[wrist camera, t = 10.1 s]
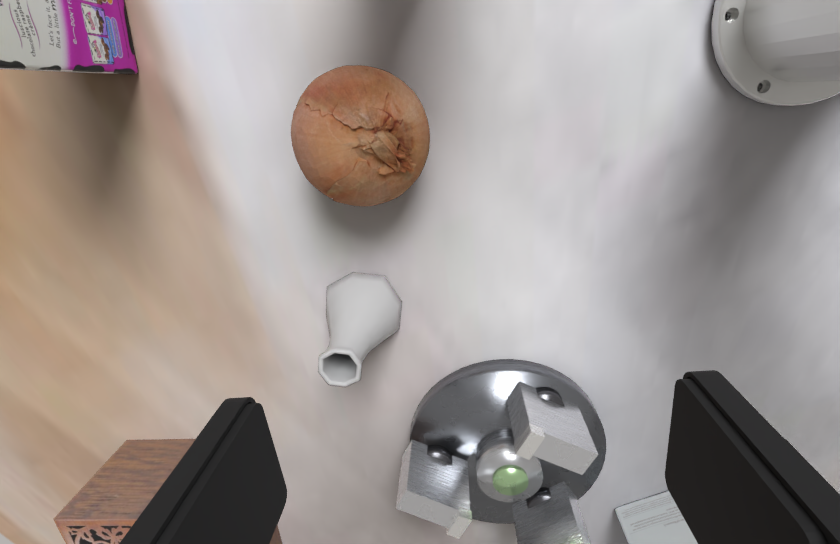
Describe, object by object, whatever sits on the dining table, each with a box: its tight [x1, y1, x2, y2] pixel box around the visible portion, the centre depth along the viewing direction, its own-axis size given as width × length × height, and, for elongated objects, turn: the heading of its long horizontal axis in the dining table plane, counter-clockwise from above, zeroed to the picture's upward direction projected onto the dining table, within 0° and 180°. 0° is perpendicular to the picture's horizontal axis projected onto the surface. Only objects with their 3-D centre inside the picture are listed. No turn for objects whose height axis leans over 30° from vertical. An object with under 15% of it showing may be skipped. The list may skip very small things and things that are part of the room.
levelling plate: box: [410, 359, 606, 523], centre depth 43 cm, size 19×19×6 cm
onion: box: [291, 65, 430, 206], centre depth 31 cm, size 10×9×10 cm
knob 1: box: [507, 381, 598, 475], centre depth 38 cm, size 4×6×7 cm, turn 66°
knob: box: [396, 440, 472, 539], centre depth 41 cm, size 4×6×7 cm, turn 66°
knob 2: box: [512, 481, 591, 544], centre depth 42 cm, size 4×6×7 cm, turn 126°
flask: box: [318, 272, 402, 387], centre depth 36 cm, size 7×7×10 cm
